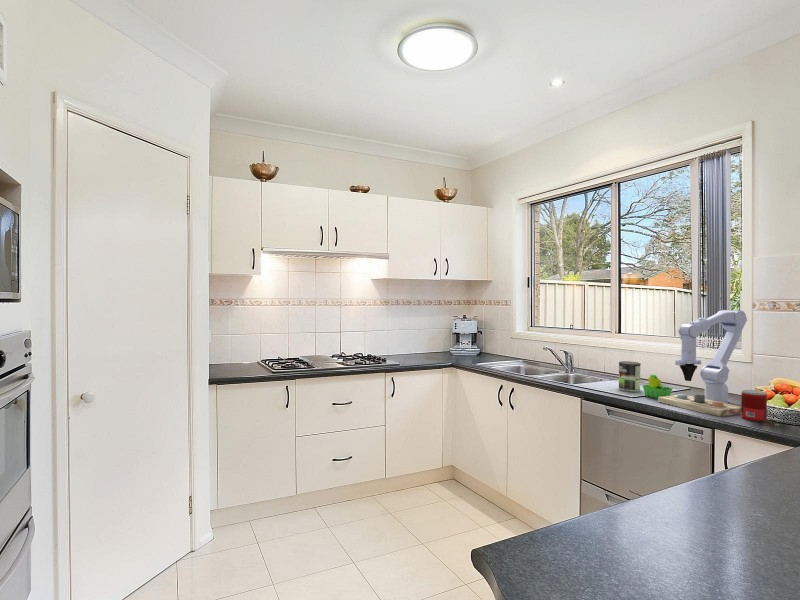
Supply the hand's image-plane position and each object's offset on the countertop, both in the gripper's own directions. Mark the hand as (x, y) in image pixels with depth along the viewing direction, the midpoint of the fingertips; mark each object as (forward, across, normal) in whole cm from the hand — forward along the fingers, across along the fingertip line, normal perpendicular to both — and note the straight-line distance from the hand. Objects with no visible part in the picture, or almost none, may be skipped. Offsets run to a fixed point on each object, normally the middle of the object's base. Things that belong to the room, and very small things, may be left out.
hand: (688, 380), depth 214 cm
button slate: (+10, -2, +1) cm, 10 cm away
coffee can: (+11, +3, +34) cm, 36 cm away
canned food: (+10, -2, -29) cm, 31 cm away
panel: (+10, -2, -7) cm, 13 cm away
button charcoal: (+9, -2, -7) cm, 11 cm away
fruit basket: (+11, -1, +15) cm, 18 cm away
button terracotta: (+10, -2, -15) cm, 18 cm away
